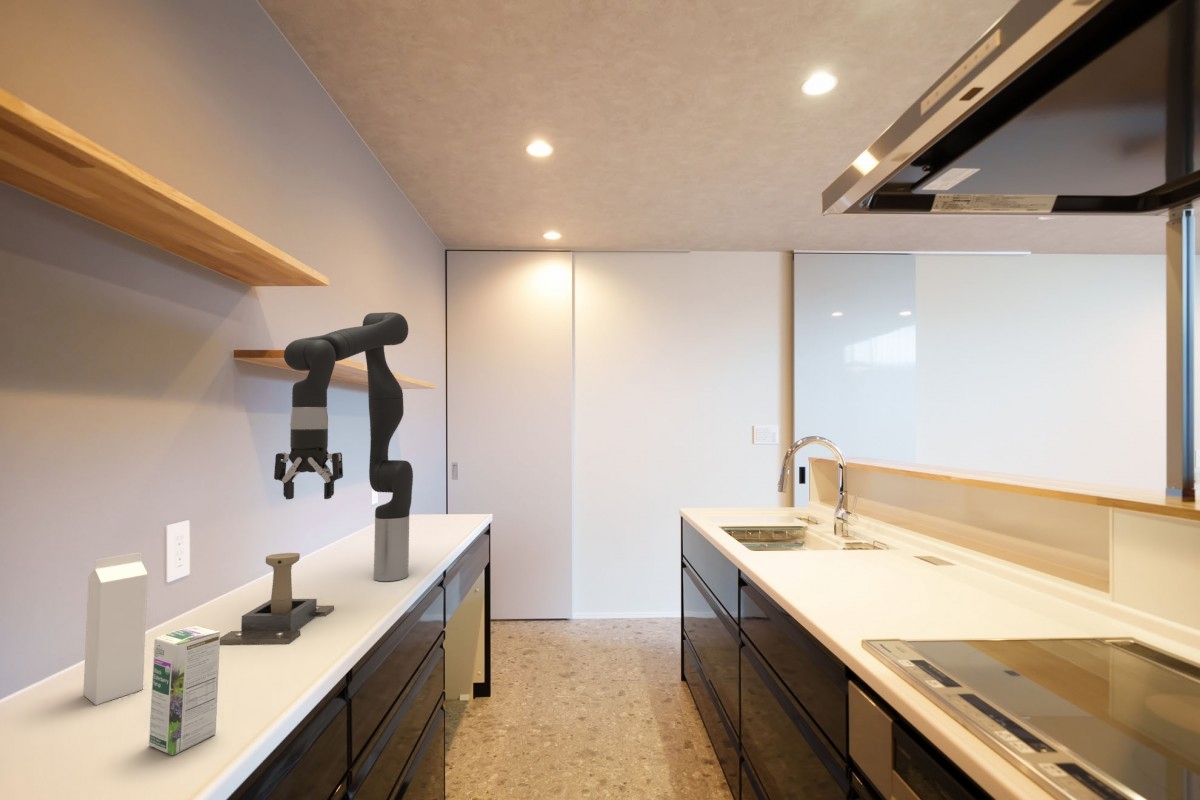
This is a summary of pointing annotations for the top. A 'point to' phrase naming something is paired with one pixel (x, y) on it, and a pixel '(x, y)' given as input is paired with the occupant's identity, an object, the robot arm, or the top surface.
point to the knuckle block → (275, 623)
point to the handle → (282, 581)
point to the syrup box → (184, 688)
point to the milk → (115, 628)
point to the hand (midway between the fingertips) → (308, 498)
